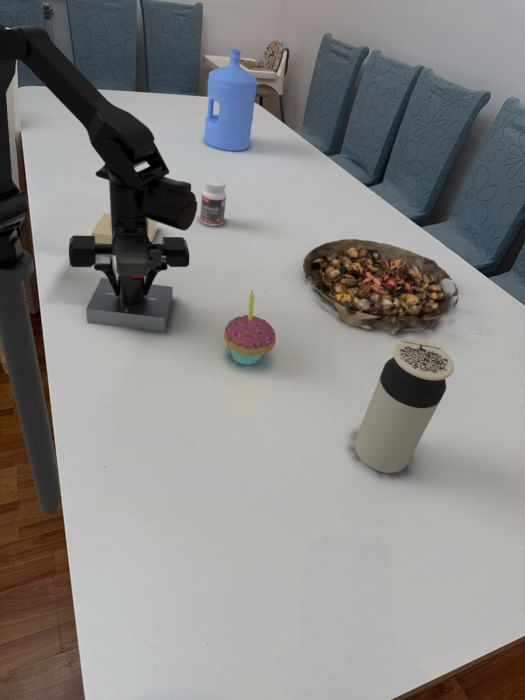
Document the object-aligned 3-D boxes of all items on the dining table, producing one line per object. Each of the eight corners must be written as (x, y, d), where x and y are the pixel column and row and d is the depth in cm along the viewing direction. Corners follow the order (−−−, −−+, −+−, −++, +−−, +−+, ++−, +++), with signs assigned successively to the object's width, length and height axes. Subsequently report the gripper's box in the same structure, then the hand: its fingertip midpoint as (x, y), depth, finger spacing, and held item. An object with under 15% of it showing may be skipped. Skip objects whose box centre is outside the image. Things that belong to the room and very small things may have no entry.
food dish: (406, 364, 90) (419, 330, 85) (268, 286, 105) (273, 254, 100) (479, 294, 112) (493, 264, 107) (356, 238, 127) (363, 210, 122)
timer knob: (118, 304, 85) (117, 282, 82) (118, 290, 88) (117, 269, 85) (145, 304, 86) (145, 282, 83) (143, 290, 89) (143, 269, 87)
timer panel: (87, 323, 85) (85, 308, 83) (102, 291, 92) (101, 277, 90) (164, 332, 86) (164, 317, 84) (172, 300, 93) (172, 285, 92)
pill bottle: (196, 223, 120) (199, 183, 114) (204, 214, 124) (207, 175, 118) (219, 228, 119) (223, 188, 113) (226, 219, 124) (230, 180, 118)
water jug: (251, 141, 176) (263, 51, 159) (246, 155, 164) (257, 58, 146) (208, 133, 176) (215, 42, 159) (199, 146, 164) (205, 49, 146)
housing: (92, 242, 106) (91, 224, 103) (104, 222, 113) (103, 205, 111) (149, 249, 107) (149, 232, 104) (157, 229, 115) (157, 212, 112)
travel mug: (406, 481, 68) (457, 387, 57) (350, 464, 69) (389, 367, 58) (408, 440, 74) (455, 347, 63) (357, 424, 75) (393, 330, 64)
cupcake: (215, 343, 85) (222, 284, 78) (261, 338, 88) (271, 280, 81) (230, 376, 79) (239, 315, 72) (279, 369, 82) (292, 310, 75)
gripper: (62, 233, 69) (73, 324, 78) (197, 236, 74) (191, 320, 84) (66, 200, 77) (75, 285, 86) (186, 204, 82) (182, 284, 92)
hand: (131, 294), depth 87 cm, fingers closed on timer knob, 4 cm apart
